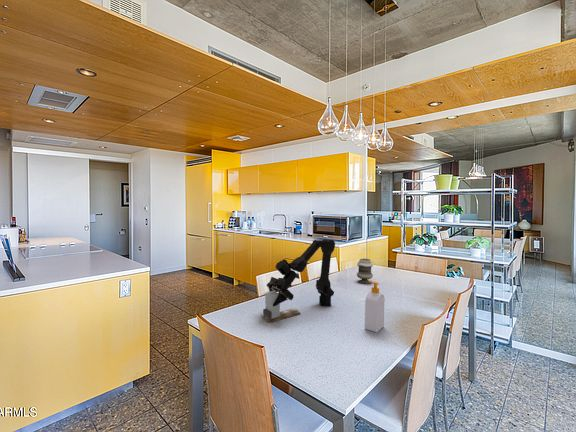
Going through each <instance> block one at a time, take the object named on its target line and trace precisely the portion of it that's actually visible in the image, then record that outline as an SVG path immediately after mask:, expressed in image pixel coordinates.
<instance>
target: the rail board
mask: <svg viewBox="0 0 576 432" xmlns="http://www.w3.org/2000/svg"><path fill="white" fill-rule="evenodd" d="M301 314H302V313H301V312H300V311H299V309H298V308H297V307H295V308H288V309H285V310H280V316H279V317H276V318H273V319H272V312H270V311H269V310H267V309H266V308H263V309H262V319H263V320H265V321H266V322H268V323H274V322H277V321H280V320H284V319H288V318H292V317H295V316H299V315H301Z"/></svg>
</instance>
